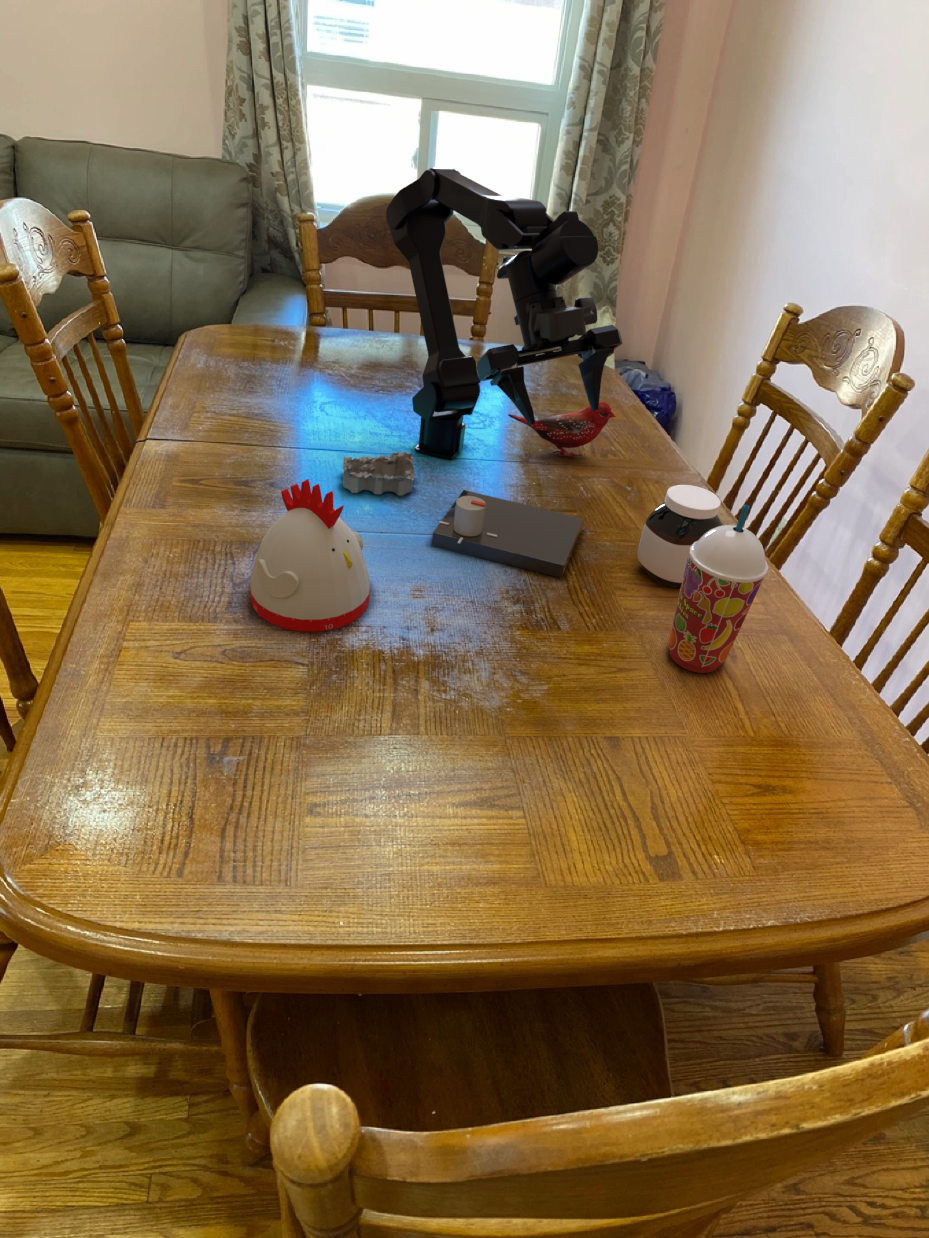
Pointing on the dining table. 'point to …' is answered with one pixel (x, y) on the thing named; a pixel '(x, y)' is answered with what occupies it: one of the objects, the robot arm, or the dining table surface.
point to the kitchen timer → (310, 566)
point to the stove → (515, 536)
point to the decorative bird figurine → (571, 427)
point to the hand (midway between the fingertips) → (564, 417)
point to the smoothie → (716, 595)
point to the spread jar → (676, 532)
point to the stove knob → (469, 516)
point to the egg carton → (379, 473)
